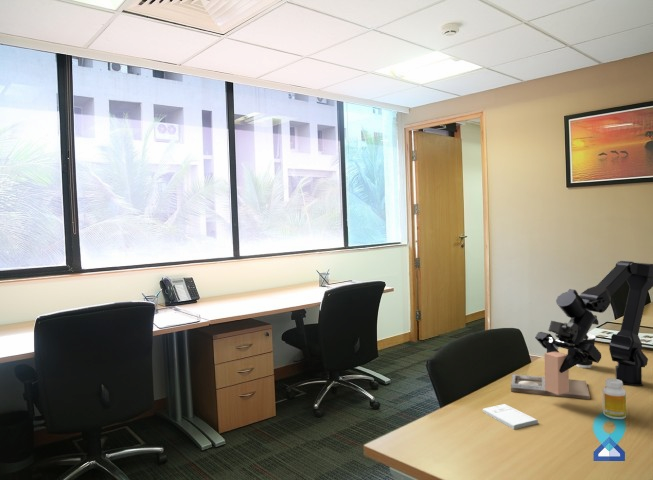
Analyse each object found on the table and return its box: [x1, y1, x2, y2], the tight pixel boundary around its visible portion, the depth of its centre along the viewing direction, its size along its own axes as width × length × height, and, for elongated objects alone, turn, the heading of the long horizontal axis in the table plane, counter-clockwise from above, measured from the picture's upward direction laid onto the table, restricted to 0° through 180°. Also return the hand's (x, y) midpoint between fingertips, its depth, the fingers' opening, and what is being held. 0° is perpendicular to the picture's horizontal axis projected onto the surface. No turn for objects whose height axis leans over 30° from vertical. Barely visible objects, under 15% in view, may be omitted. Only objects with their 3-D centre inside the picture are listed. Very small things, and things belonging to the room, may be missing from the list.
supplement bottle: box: [602, 377, 627, 420], centre depth 132 cm, size 5×5×10 cm
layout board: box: [510, 373, 591, 400], centre depth 155 cm, size 22×14×2 cm, turn 66°
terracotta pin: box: [543, 351, 570, 395], centre depth 142 cm, size 4×4×11 cm
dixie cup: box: [575, 333, 597, 369], centre depth 174 cm, size 8×8×11 cm
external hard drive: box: [482, 403, 539, 430], centre depth 134 cm, size 2×8×12 cm
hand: (553, 369), depth 141 cm, fingers closed on terracotta pin, 4 cm apart
